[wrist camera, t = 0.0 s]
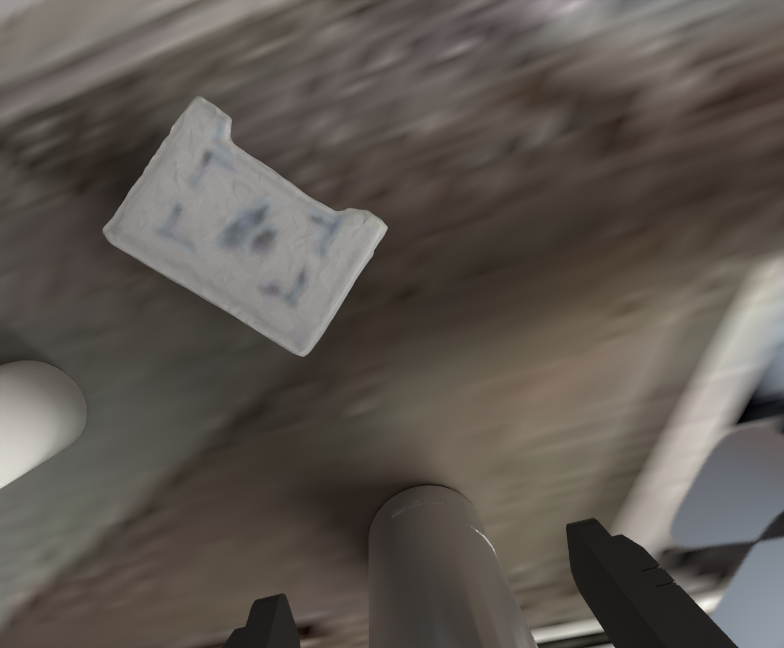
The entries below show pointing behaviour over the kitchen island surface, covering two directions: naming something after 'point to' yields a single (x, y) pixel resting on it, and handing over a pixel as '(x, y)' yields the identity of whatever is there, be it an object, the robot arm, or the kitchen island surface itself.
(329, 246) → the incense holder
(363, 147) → the kitchen island surface
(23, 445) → the white glossy cylinder
